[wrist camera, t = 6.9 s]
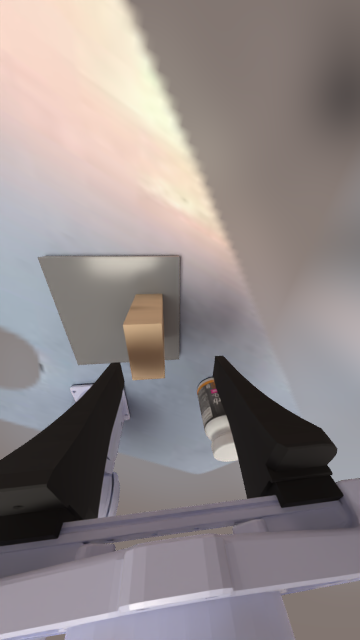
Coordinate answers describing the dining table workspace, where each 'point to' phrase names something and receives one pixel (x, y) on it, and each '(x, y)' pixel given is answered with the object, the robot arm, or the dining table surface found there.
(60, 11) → the dining table surface
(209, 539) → the robot arm
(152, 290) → the board
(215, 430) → the pill bottle
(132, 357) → the block
